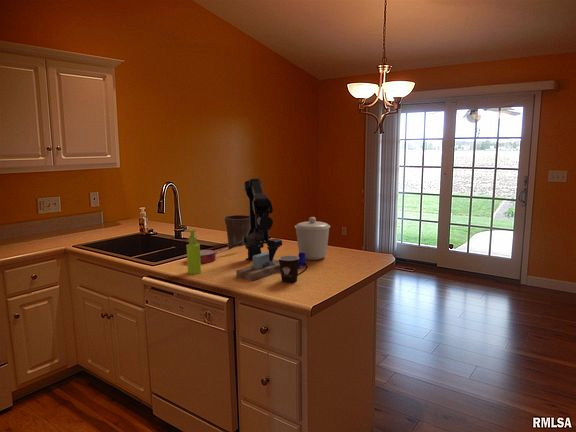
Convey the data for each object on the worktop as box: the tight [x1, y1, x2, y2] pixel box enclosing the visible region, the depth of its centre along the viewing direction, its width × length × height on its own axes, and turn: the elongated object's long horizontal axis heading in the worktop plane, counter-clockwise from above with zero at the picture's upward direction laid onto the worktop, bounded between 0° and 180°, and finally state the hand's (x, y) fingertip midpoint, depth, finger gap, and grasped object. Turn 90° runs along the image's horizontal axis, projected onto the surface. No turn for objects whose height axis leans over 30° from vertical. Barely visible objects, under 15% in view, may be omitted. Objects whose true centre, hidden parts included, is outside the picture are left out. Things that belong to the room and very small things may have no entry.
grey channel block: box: [252, 251, 274, 270], centre depth 196 cm, size 3×10×8 cm, turn 140°
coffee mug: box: [278, 255, 308, 284], centre depth 182 cm, size 12×9×10 cm
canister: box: [294, 216, 331, 261], centre depth 221 cm, size 18×18×21 cm
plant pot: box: [223, 214, 250, 246], centre depth 258 cm, size 16×16×16 cm
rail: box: [235, 258, 281, 282], centre depth 197 cm, size 10×24×3 cm, turn 141°
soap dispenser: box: [182, 228, 202, 275], centre depth 197 cm, size 6×7×20 cm
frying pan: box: [200, 241, 243, 265], centre depth 228 cm, size 32×13×6 cm, turn 139°
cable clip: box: [297, 252, 307, 270], centre depth 204 cm, size 12×4×6 cm, turn 142°
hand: (263, 259), depth 196 cm, fingers open, 9 cm apart
